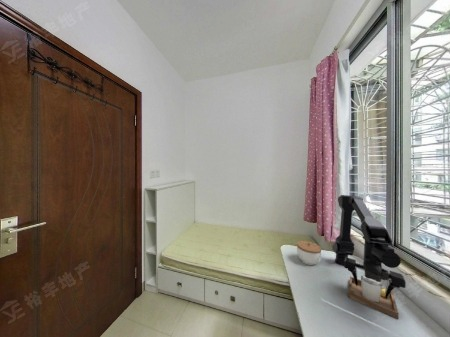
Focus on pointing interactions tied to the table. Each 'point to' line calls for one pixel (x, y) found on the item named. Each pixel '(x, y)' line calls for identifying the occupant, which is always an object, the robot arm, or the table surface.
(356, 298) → the tray
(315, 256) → the lidded bowl
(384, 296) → the ball
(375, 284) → the white cup
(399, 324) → the table surface
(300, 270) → the table surface
